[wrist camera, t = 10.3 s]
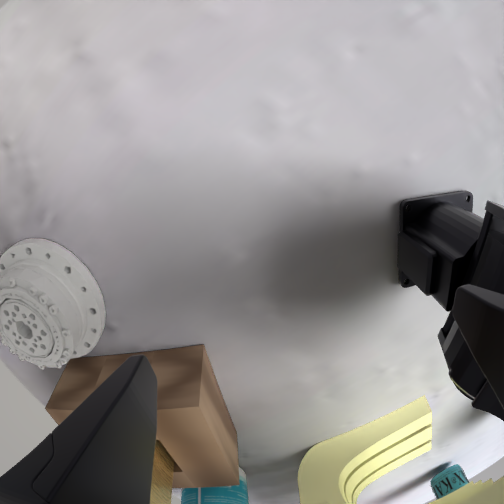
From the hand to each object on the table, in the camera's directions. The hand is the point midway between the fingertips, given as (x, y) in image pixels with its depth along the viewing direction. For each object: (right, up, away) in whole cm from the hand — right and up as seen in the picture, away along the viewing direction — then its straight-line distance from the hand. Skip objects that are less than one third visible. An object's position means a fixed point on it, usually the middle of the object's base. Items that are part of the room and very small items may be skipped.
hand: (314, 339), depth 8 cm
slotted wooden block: (-10, -11, +17) cm, 23 cm away
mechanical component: (-17, -1, +13) cm, 21 cm away
